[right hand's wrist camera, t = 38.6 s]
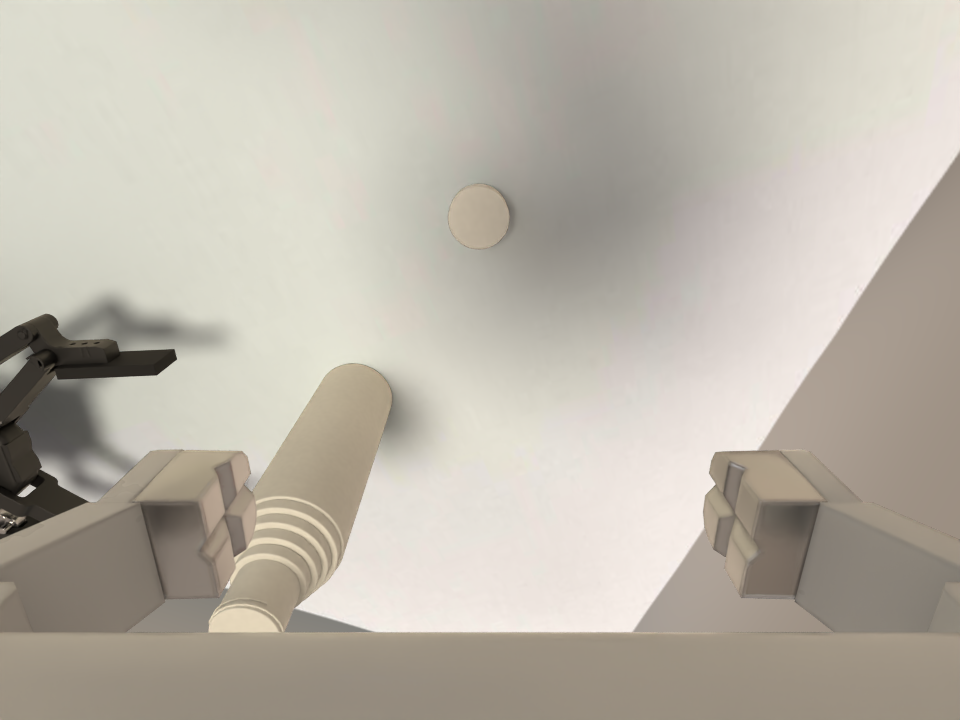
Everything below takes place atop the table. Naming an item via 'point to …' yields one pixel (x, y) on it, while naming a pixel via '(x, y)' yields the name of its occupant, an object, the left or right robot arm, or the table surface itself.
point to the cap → (478, 216)
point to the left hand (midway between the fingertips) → (190, 449)
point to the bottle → (307, 502)
